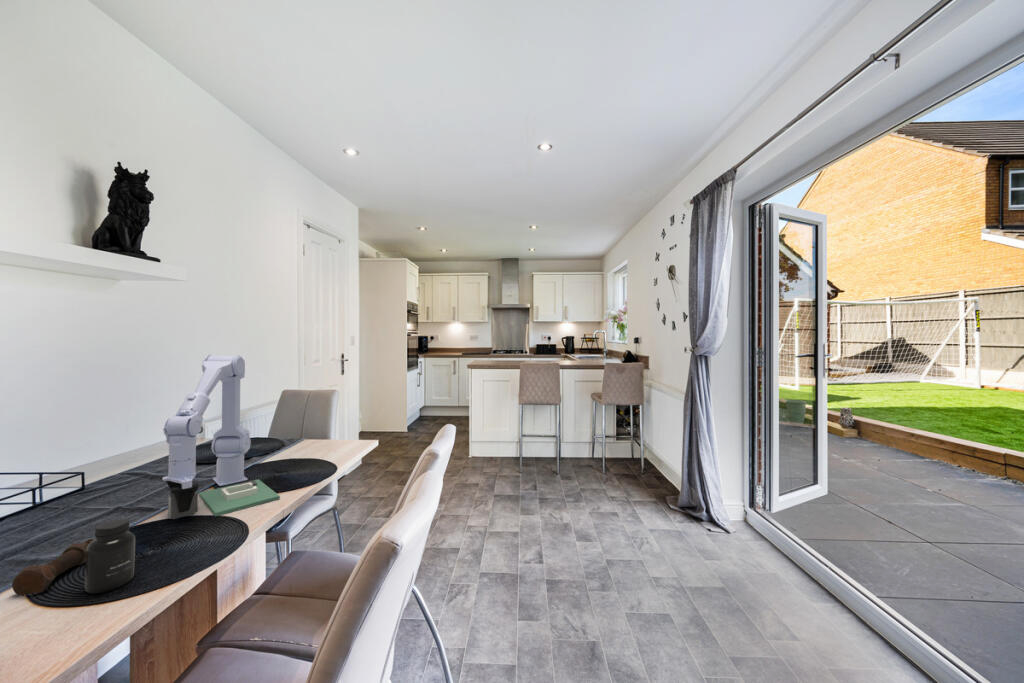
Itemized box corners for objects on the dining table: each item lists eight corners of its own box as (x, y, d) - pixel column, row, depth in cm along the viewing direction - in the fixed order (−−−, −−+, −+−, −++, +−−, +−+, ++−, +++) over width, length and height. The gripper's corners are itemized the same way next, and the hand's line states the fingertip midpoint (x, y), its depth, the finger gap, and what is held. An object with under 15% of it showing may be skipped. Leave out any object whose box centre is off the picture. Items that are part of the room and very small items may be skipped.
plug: (168, 515, 106) (168, 493, 106) (195, 508, 110) (195, 487, 110) (170, 519, 103) (171, 497, 103) (198, 512, 108) (198, 491, 108)
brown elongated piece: (97, 560, 87) (32, 603, 73) (74, 551, 86) (4, 592, 72) (113, 537, 88) (53, 574, 74) (90, 528, 87) (25, 563, 73)
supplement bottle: (119, 591, 74) (121, 530, 74) (74, 597, 72) (76, 534, 72) (142, 571, 81) (143, 514, 81) (101, 575, 79) (102, 518, 79)
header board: (199, 495, 119) (199, 486, 119) (258, 482, 131) (258, 473, 131) (215, 516, 106) (215, 506, 106) (279, 499, 118) (279, 490, 118)
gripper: (158, 455, 108) (157, 503, 108) (167, 468, 99) (166, 520, 99) (191, 450, 113) (190, 496, 113) (202, 462, 104) (201, 511, 104)
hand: (181, 507), depth 106 cm, fingers open, 7 cm apart
